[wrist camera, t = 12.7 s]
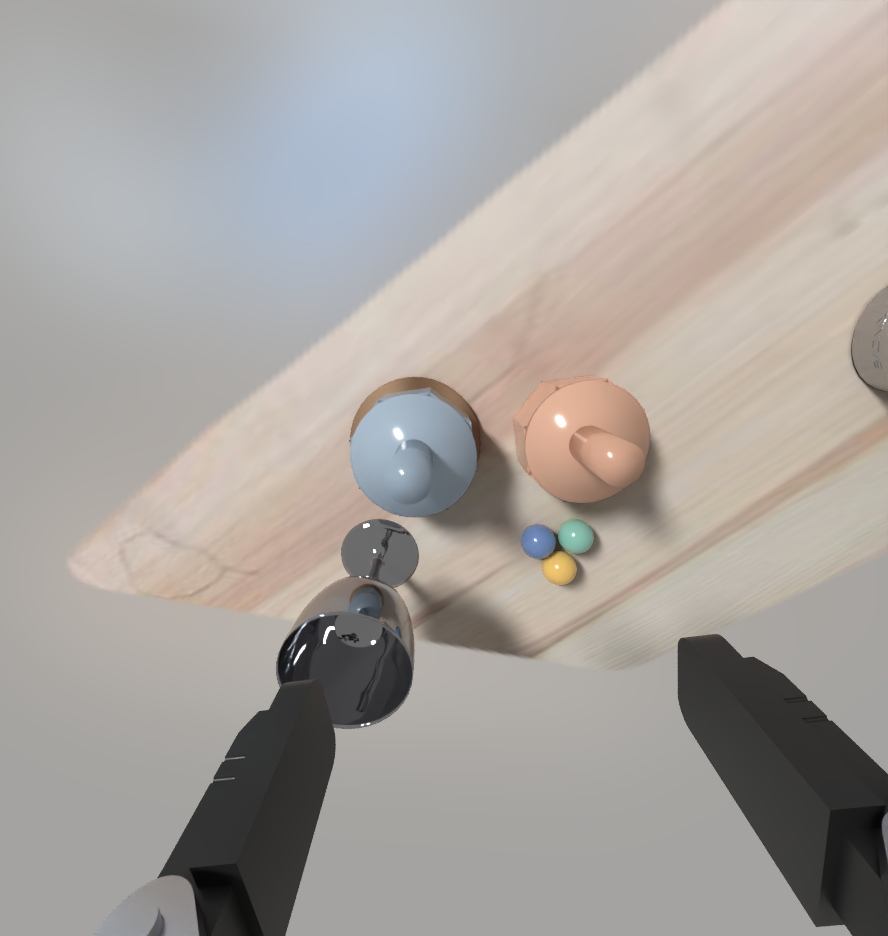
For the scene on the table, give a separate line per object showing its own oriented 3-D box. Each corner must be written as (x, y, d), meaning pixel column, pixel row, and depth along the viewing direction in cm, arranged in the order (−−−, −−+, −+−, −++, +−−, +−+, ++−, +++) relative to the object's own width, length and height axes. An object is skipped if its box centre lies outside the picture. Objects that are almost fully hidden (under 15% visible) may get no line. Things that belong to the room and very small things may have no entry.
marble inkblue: (549, 516, 38) (558, 530, 35) (552, 547, 39) (561, 562, 36) (516, 521, 38) (522, 535, 35) (519, 551, 39) (526, 567, 36)
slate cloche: (464, 381, 34) (475, 393, 24) (477, 487, 37) (493, 542, 26) (352, 397, 35) (313, 416, 24) (373, 502, 37) (346, 562, 26)
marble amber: (569, 543, 39) (580, 558, 36) (571, 572, 40) (582, 589, 37) (537, 547, 39) (545, 563, 36) (540, 576, 40) (548, 593, 37)
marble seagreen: (586, 511, 38) (597, 524, 35) (587, 542, 39) (599, 557, 36) (552, 516, 38) (562, 529, 35) (555, 546, 39) (564, 561, 36)
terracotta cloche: (619, 369, 35) (699, 376, 24) (623, 475, 37) (697, 524, 26) (508, 385, 35) (539, 399, 24) (519, 490, 37) (551, 544, 27)
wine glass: (405, 604, 40) (385, 744, 26) (325, 576, 39) (259, 706, 25) (435, 532, 38) (433, 640, 24) (352, 502, 38) (298, 595, 23)
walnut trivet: (471, 367, 35) (471, 368, 34) (486, 493, 37) (487, 495, 37) (339, 387, 35) (337, 388, 34) (365, 510, 38) (364, 513, 37)
